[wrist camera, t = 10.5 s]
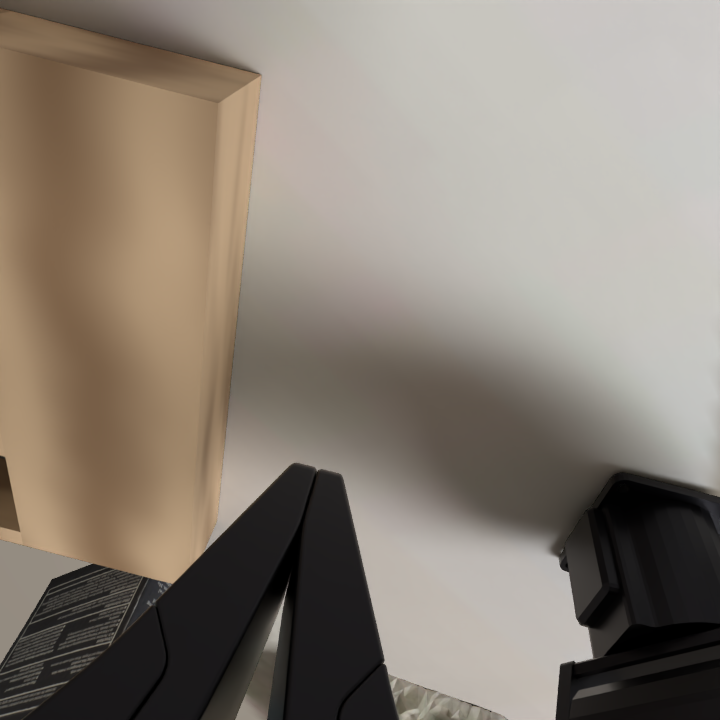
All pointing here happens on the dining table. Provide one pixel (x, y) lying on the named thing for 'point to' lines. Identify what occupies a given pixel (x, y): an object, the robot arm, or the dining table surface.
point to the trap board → (117, 291)
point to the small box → (70, 632)
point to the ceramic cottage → (433, 704)
